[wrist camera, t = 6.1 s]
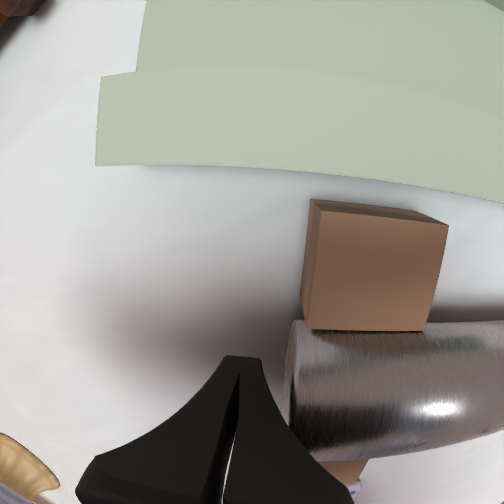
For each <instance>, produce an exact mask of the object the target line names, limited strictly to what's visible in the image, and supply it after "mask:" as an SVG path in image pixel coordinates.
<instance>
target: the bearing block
mask: <svg viewBox="0 0 504 504" xmlns="http://www.w3.org/2000/svg"><path fill="white" fill-rule="evenodd" d="M448 228H449V225H447V224H445V223H442V222H440V221H438V220H435V219H433V218H431V217H429V216H426V215H424V214H421V213H419V212H417V211H412V210H405V209H397V208H389V207H381V206H373V205H364V204H355V203H346V202H336V201H326V200H315V199H310V207H309V218H308V228H307V238H306V248H305V257H304V266H303V274H302V283H301V291H300V297H301V302H302V308H303V313H304V319H305V324H306V329H326V330H358V331H424V328H425V324H426V321H427V318H428V314H429V311H430V308H431V304H432V300H433V297H434V293H435V289H436V285H437V281H438V277H439V273H440V268H441V264H442V259H443V255H444V250H445V245H446V239H447V234H448ZM368 460H369V459H359V460H346V461H326V462H318V463H319V464H320V465H322V466H323V467H324V468H325V469H326V470H327V471H328V472H329V473H330V474H331V475H333V476H334V477H335V478H336V479H337V480H339V481H340V482H341V483H343V484H344V485H348V484H355V482H356V481H357V479H358V477H359V475H360V474H361V472H362V470H363V469H364V467H365V465H366V463H367V461H368Z"/></svg>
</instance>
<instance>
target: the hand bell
mask: <svg viewBox="0 0 504 504" xmlns="http://www.w3.org/2000/svg"><path fill="white" fill-rule="evenodd" d="M0 482H1V483H3V484H4V485H6V486H7V487H9V488H10V489H12V490H14V491H15V492H17V493H18V494H20V495H22V496H23V497H25V498H27V499H29V500H30V501H31V500H32V499H33V498H34V497H35V496H36V495H38V494H39V493H41V492H44V491H46V490H55V489H57V488H59V485H60V484H59V481H58V479H57V478H56V476H55V475H54V474H53V473H52V471H51V470H50V469H49V468H48V467H47V466H46V465H45V464H44V463H43V462H42V461H40V460H39V459H38V458H37V457H36V456H35V455H34V454H32V453H31V452H30V451H29V450H27V449H26V448H25V447H23V446H22V445H21V444H19V443H18V442H16V441H15V440H13V439H12V438H10V437H8V436H6V435H4V434H1V433H0Z"/></svg>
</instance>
